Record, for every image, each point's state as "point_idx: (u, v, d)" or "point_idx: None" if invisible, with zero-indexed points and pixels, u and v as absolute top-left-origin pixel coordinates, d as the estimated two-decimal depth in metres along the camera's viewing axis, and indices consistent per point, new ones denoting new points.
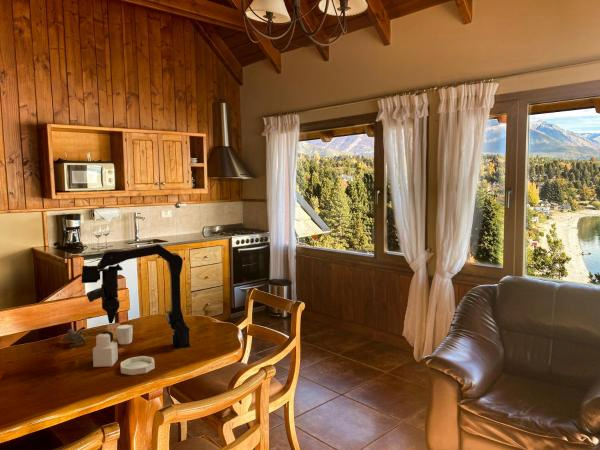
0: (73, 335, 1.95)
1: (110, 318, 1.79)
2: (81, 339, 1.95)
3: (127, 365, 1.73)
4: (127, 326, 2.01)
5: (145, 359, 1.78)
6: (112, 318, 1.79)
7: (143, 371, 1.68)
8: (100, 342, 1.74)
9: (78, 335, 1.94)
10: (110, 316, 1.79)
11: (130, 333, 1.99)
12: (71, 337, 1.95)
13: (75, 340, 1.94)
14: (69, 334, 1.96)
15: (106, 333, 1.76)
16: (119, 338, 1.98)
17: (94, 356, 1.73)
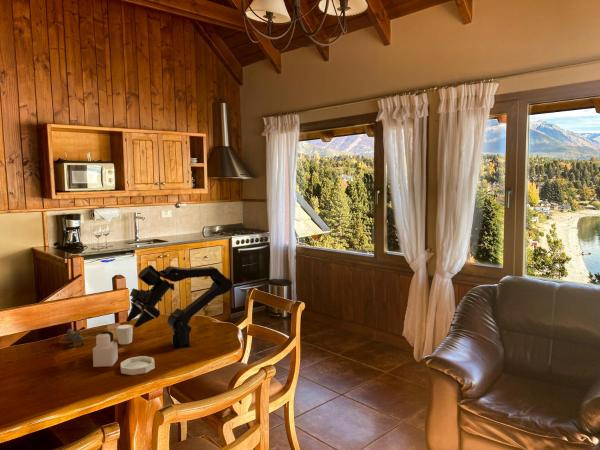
0: (72, 335, 1.95)
1: (139, 322, 1.79)
2: (79, 339, 1.95)
3: (127, 365, 1.73)
4: (127, 326, 2.01)
5: (145, 359, 1.78)
6: (140, 324, 1.79)
7: (143, 371, 1.68)
8: (100, 342, 1.74)
9: (76, 335, 1.94)
10: (140, 321, 1.79)
11: (130, 333, 1.99)
12: (70, 337, 1.95)
13: (73, 340, 1.94)
14: (68, 334, 1.96)
15: (106, 333, 1.76)
16: (119, 338, 1.98)
17: (94, 356, 1.73)
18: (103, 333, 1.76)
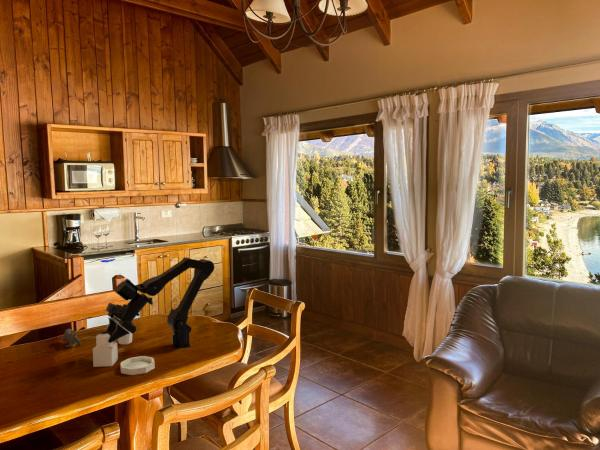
0: (68, 335, 1.95)
1: (113, 337, 1.75)
2: (75, 340, 1.94)
3: (127, 365, 1.73)
4: None
5: (145, 359, 1.78)
6: (114, 339, 1.75)
7: (143, 371, 1.68)
8: (100, 342, 1.74)
9: (72, 336, 1.93)
10: (115, 336, 1.75)
11: (130, 333, 1.99)
12: (66, 337, 1.95)
13: (69, 341, 1.94)
14: (65, 334, 1.96)
15: (106, 333, 1.76)
16: (119, 338, 1.98)
17: (94, 356, 1.73)
18: (103, 333, 1.76)
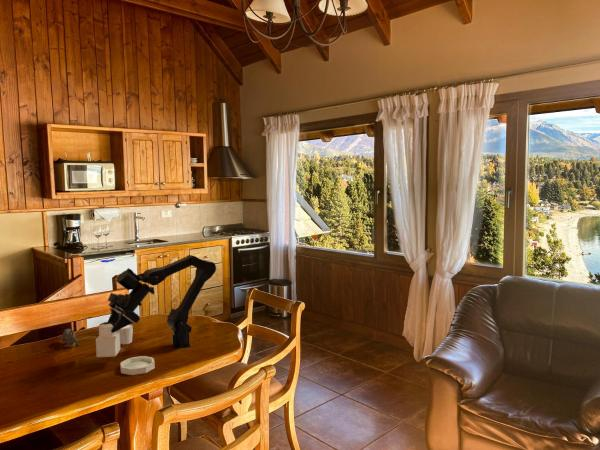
0: (66, 335, 1.95)
1: (116, 327, 1.74)
2: (73, 340, 1.94)
3: (127, 365, 1.73)
4: (127, 326, 2.01)
5: (145, 359, 1.78)
6: (117, 329, 1.74)
7: (143, 371, 1.68)
8: (103, 333, 1.73)
9: (70, 336, 1.93)
10: (118, 326, 1.74)
11: (130, 333, 1.99)
12: (65, 337, 1.95)
13: (67, 341, 1.93)
14: (63, 334, 1.96)
15: (109, 323, 1.75)
16: None
17: (97, 346, 1.72)
18: (106, 323, 1.75)
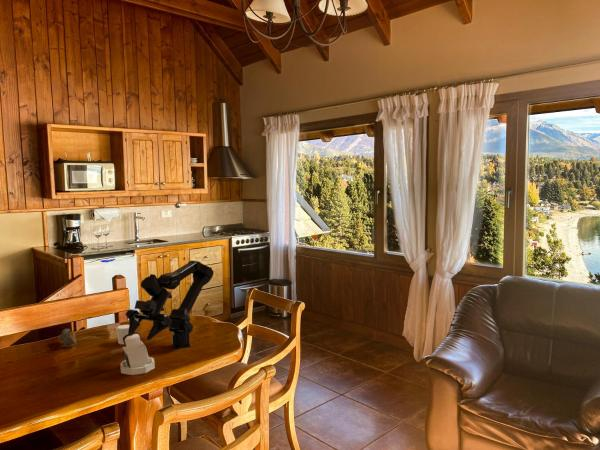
0: (64, 335, 1.95)
1: (152, 334, 1.71)
2: (70, 340, 1.94)
3: (127, 365, 1.73)
4: (127, 326, 2.01)
5: None
6: (152, 336, 1.72)
7: (143, 371, 1.68)
8: (132, 344, 1.68)
9: (67, 336, 1.93)
10: (153, 332, 1.72)
11: None
12: (62, 337, 1.95)
13: (64, 341, 1.93)
14: (61, 334, 1.97)
15: (133, 334, 1.71)
16: (119, 338, 1.98)
17: (130, 359, 1.68)
18: (130, 335, 1.70)
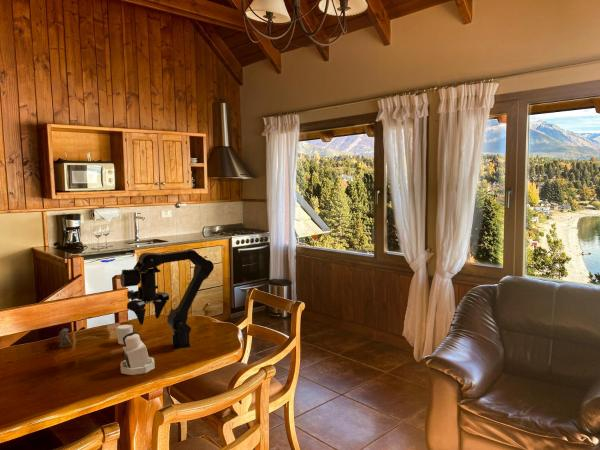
0: (61, 335, 1.95)
1: (139, 319, 1.82)
2: (66, 340, 1.93)
3: (127, 365, 1.73)
4: (127, 326, 2.01)
5: None
6: (141, 320, 1.82)
7: (143, 371, 1.68)
8: (132, 344, 1.68)
9: (63, 336, 1.93)
10: (139, 318, 1.82)
11: None
12: (59, 337, 1.95)
13: (60, 341, 1.93)
14: (59, 334, 1.97)
15: (133, 334, 1.71)
16: (119, 338, 1.98)
17: (130, 359, 1.68)
18: (130, 335, 1.70)
